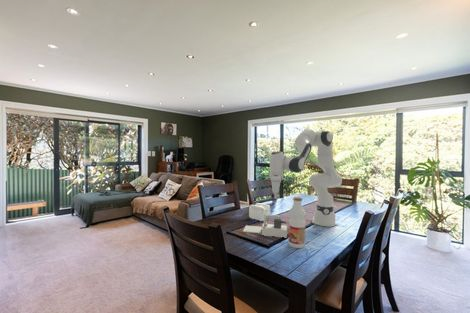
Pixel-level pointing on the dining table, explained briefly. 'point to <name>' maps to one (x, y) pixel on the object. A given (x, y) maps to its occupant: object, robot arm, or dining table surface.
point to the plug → (278, 223)
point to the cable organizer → (259, 211)
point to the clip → (270, 218)
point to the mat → (252, 229)
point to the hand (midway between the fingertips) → (275, 197)
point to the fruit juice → (297, 224)
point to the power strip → (274, 231)
